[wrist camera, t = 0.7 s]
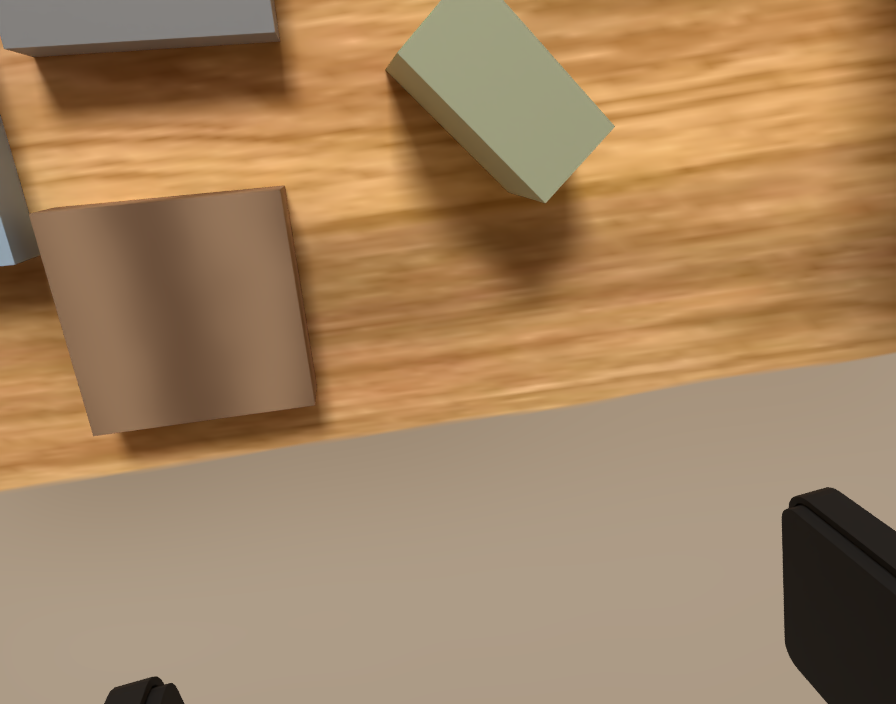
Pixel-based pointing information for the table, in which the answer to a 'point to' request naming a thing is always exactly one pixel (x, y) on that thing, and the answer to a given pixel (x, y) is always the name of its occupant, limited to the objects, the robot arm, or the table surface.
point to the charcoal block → (132, 25)
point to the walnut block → (179, 307)
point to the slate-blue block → (13, 212)
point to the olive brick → (500, 95)
